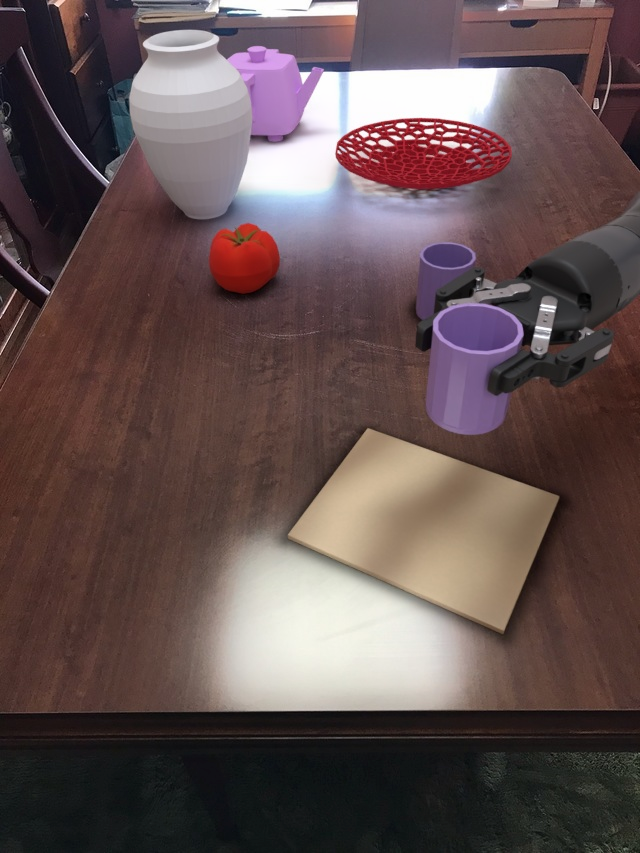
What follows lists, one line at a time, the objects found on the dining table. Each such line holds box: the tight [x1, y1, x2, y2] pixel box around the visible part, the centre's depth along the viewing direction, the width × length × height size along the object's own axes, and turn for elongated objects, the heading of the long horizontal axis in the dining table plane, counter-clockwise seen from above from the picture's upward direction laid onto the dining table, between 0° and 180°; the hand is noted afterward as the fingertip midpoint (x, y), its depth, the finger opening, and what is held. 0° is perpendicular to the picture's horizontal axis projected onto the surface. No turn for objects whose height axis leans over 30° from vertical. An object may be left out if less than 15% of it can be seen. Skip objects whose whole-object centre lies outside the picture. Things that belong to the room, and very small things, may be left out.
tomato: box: [208, 222, 281, 295], centre depth 92 cm, size 9×9×8 cm
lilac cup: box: [415, 241, 477, 321], centre depth 86 cm, size 7×7×8 cm
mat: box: [287, 427, 560, 635], centre depth 63 cm, size 20×16×1 cm
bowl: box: [334, 117, 513, 190], centre depth 117 cm, size 29×30×5 cm
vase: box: [128, 29, 252, 220], centre depth 103 cm, size 18×18×25 cm
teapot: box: [226, 45, 325, 143], centre depth 132 cm, size 19×18×15 cm
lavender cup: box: [424, 303, 524, 436], centre depth 54 cm, size 7×7×8 cm
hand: (454, 361), depth 52 cm, fingers closed on lavender cup, 6 cm apart
